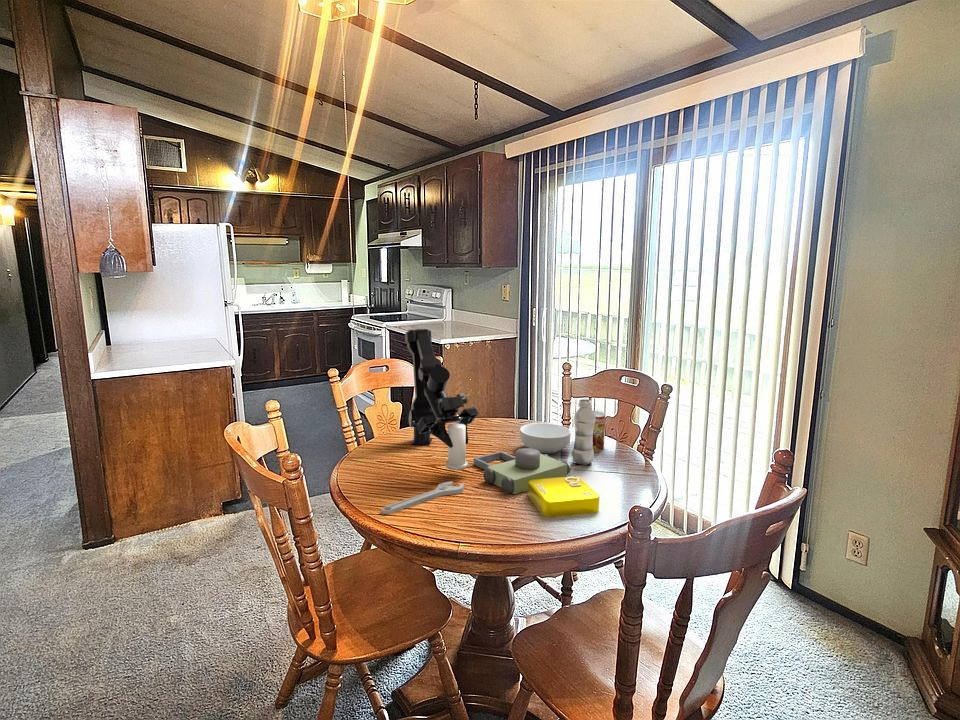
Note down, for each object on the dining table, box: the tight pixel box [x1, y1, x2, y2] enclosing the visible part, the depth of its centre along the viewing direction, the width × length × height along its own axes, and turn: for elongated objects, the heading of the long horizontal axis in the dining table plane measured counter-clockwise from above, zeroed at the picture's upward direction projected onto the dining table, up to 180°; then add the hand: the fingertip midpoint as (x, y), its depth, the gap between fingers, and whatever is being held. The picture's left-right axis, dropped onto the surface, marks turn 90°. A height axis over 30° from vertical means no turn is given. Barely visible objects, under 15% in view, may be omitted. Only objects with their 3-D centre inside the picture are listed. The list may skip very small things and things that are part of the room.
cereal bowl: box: [519, 422, 571, 454], centre depth 181 cm, size 17×17×7 cm
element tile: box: [527, 475, 600, 518], centre depth 140 cm, size 15×15×5 cm
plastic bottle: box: [571, 398, 596, 466], centre depth 167 cm, size 6×7×20 cm
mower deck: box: [473, 447, 571, 495], centre depth 160 cm, size 24×22×8 cm
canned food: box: [592, 410, 606, 453], centre depth 182 cm, size 8×8×12 cm
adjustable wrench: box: [381, 481, 465, 515], centre depth 142 cm, size 25×6×2 cm, turn 128°
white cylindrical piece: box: [445, 423, 469, 471], centre depth 156 cm, size 6×6×12 cm
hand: (459, 445), depth 155 cm, fingers closed on white cylindrical piece, 5 cm apart
